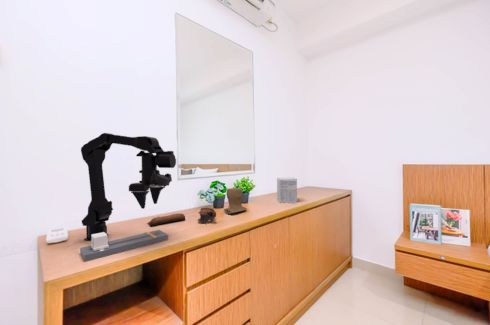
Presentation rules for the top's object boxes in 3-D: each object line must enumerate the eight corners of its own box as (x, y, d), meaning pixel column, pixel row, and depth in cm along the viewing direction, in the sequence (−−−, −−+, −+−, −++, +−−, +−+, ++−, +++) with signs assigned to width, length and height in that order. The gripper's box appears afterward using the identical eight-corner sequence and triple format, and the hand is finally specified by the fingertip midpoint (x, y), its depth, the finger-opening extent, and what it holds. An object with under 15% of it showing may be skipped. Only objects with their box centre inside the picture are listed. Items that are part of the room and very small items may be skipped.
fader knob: (93, 251, 75) (93, 238, 75) (90, 245, 80) (90, 234, 80) (108, 247, 78) (108, 235, 78) (104, 242, 83) (104, 231, 83)
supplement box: (297, 202, 164) (297, 178, 164) (279, 203, 164) (279, 179, 164) (293, 199, 177) (293, 177, 177) (277, 199, 177) (276, 177, 177)
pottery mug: (192, 223, 116) (195, 208, 120) (206, 227, 122) (208, 213, 126) (209, 221, 109) (211, 204, 113) (222, 225, 116) (224, 210, 120)
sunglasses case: (179, 217, 127) (181, 208, 124) (183, 226, 122) (186, 216, 119) (145, 223, 115) (147, 213, 113) (149, 233, 111) (151, 223, 108)
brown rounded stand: (236, 208, 148) (235, 185, 147) (249, 211, 140) (249, 187, 139) (218, 212, 136) (218, 188, 136) (232, 216, 128) (231, 189, 128)
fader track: (84, 261, 72) (84, 255, 72) (80, 253, 79) (80, 247, 79) (168, 239, 92) (168, 234, 92) (159, 234, 98) (159, 229, 98)
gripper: (156, 169, 81) (156, 212, 81) (177, 167, 100) (177, 202, 100) (127, 168, 82) (127, 211, 83) (154, 166, 101) (154, 201, 101)
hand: (149, 206), depth 92 cm, fingers open, 9 cm apart
